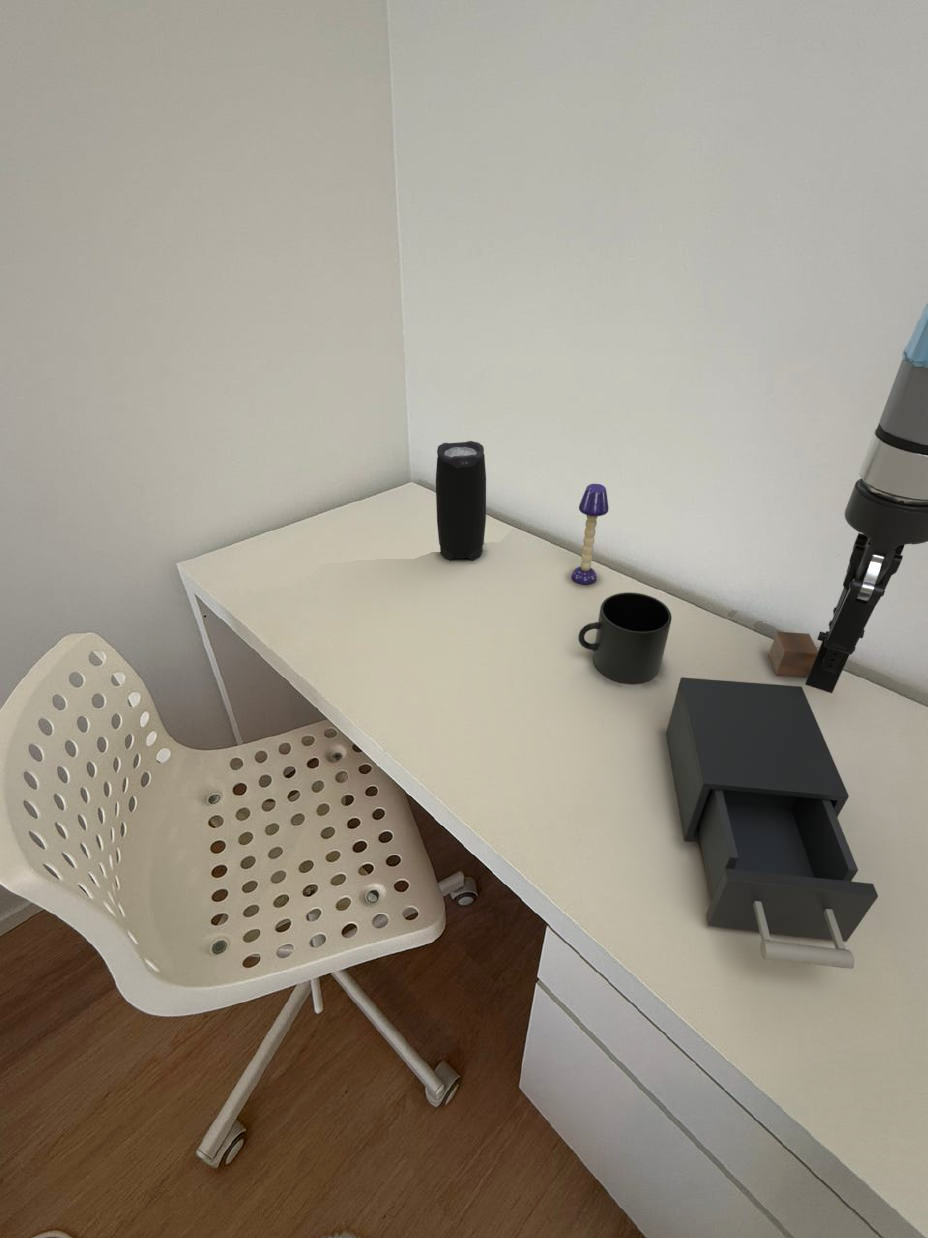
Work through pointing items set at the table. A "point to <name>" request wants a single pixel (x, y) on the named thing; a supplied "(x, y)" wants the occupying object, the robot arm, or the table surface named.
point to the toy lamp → (590, 529)
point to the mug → (629, 637)
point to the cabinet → (746, 745)
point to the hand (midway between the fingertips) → (819, 685)
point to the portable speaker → (461, 499)
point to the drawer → (782, 873)
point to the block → (792, 654)
